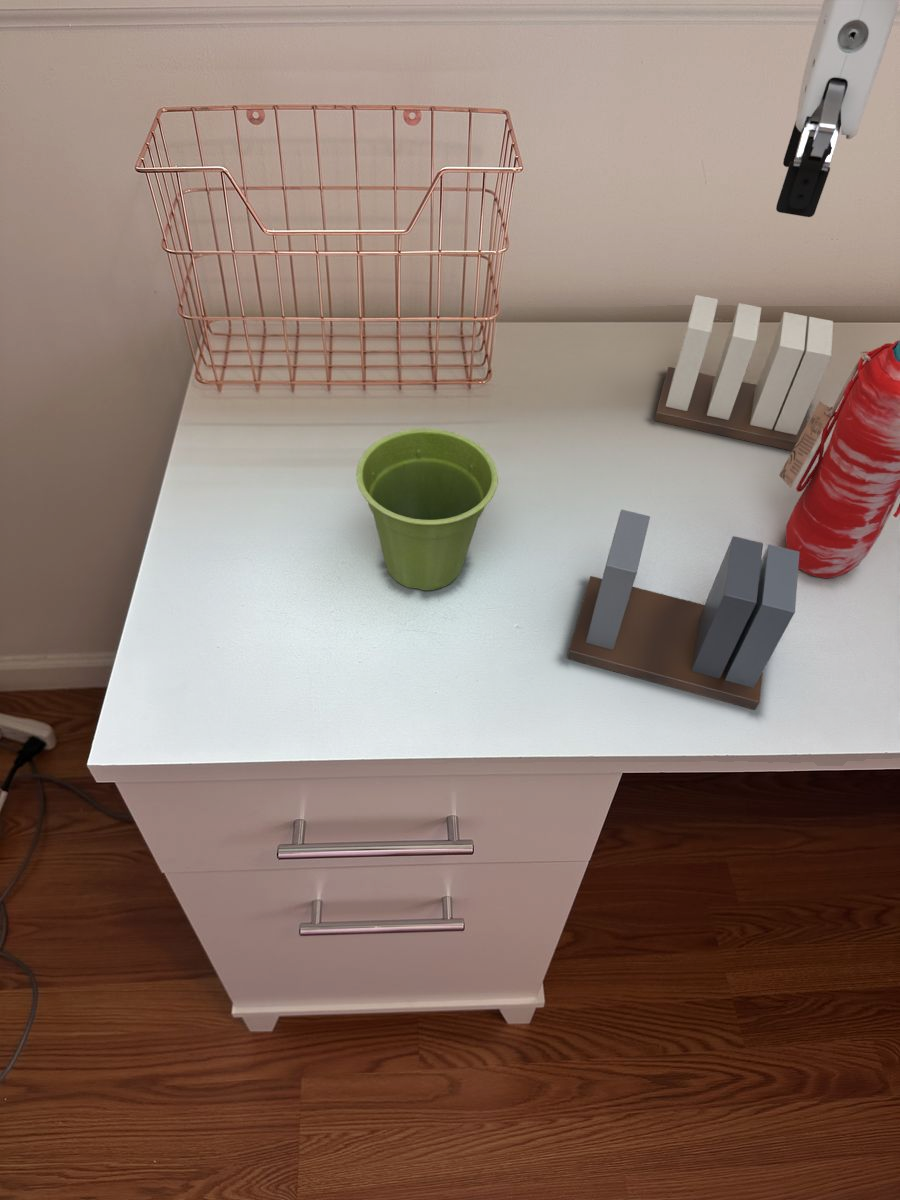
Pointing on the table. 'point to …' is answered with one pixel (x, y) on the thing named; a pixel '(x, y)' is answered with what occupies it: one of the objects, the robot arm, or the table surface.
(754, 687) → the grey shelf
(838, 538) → the water bottle
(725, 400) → the beige box
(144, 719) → the table surface
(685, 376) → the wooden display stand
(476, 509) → the plant pot
